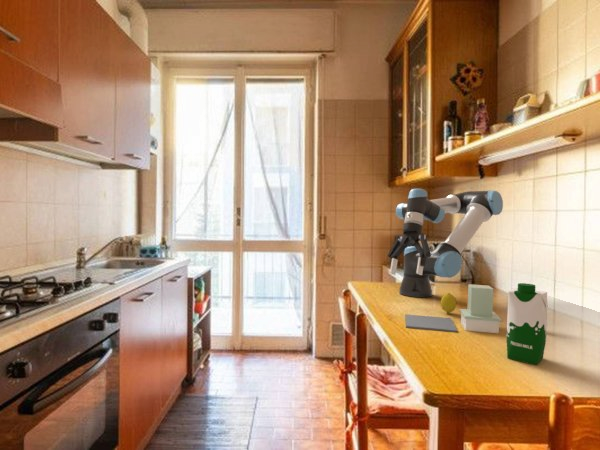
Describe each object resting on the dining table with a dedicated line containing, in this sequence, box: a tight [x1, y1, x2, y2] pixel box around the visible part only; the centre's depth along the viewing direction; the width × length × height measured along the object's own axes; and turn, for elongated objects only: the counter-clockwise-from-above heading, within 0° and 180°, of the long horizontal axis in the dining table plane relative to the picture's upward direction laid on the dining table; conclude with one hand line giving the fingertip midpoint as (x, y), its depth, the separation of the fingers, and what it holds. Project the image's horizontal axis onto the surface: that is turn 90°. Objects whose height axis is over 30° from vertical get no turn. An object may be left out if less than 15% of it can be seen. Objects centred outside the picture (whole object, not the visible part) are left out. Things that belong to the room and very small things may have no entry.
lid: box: [459, 283, 502, 323], centre depth 134 cm, size 11×11×10 cm
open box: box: [460, 313, 500, 334], centre depth 134 cm, size 10×10×4 cm
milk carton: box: [506, 282, 548, 366], centre depth 106 cm, size 9×9×20 cm
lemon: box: [440, 292, 457, 314], centre depth 153 cm, size 6×6×8 cm
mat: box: [404, 313, 458, 333], centre depth 138 cm, size 16×16×1 cm
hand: (405, 274), depth 160 cm, fingers open, 13 cm apart
